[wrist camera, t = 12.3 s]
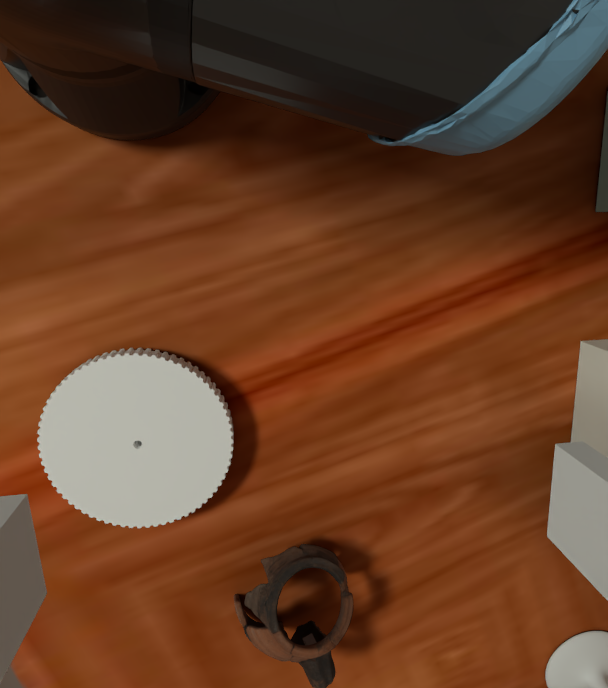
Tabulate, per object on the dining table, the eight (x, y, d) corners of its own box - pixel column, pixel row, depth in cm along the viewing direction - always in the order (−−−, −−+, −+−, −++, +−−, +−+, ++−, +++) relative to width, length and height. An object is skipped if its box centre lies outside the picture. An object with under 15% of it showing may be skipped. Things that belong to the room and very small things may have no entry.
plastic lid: (169, 310, 38) (164, 317, 35) (266, 454, 42) (267, 468, 39) (11, 404, 38) (-5, 418, 36) (121, 538, 42) (113, 558, 40)
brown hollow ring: (207, 572, 44) (233, 596, 37) (294, 510, 48) (334, 521, 41) (271, 693, 44) (310, 741, 37) (352, 621, 48) (402, 652, 41)
